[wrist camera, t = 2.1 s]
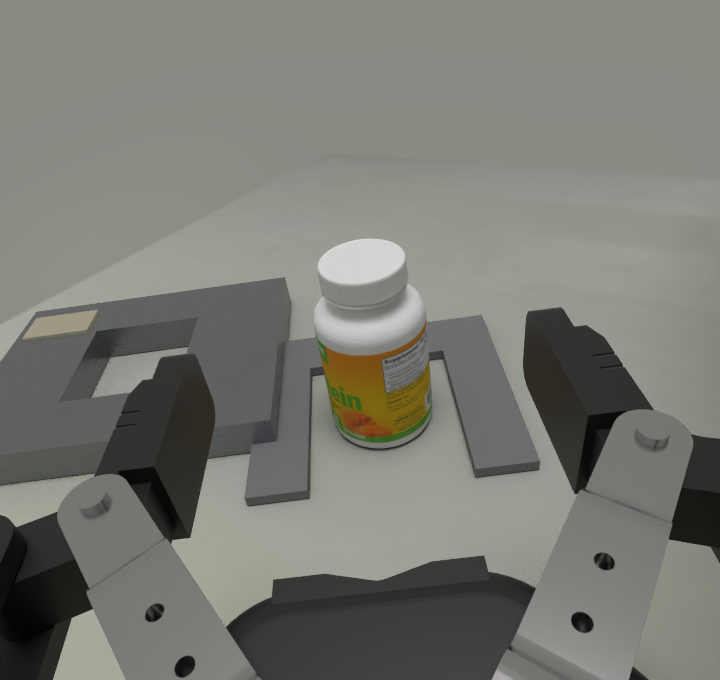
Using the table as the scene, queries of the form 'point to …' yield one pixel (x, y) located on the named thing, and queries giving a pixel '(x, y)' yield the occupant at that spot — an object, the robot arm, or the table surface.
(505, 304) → the table surface
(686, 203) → the table surface
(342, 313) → the supplement bottle
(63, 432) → the socket block
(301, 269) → the table surface
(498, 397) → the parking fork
